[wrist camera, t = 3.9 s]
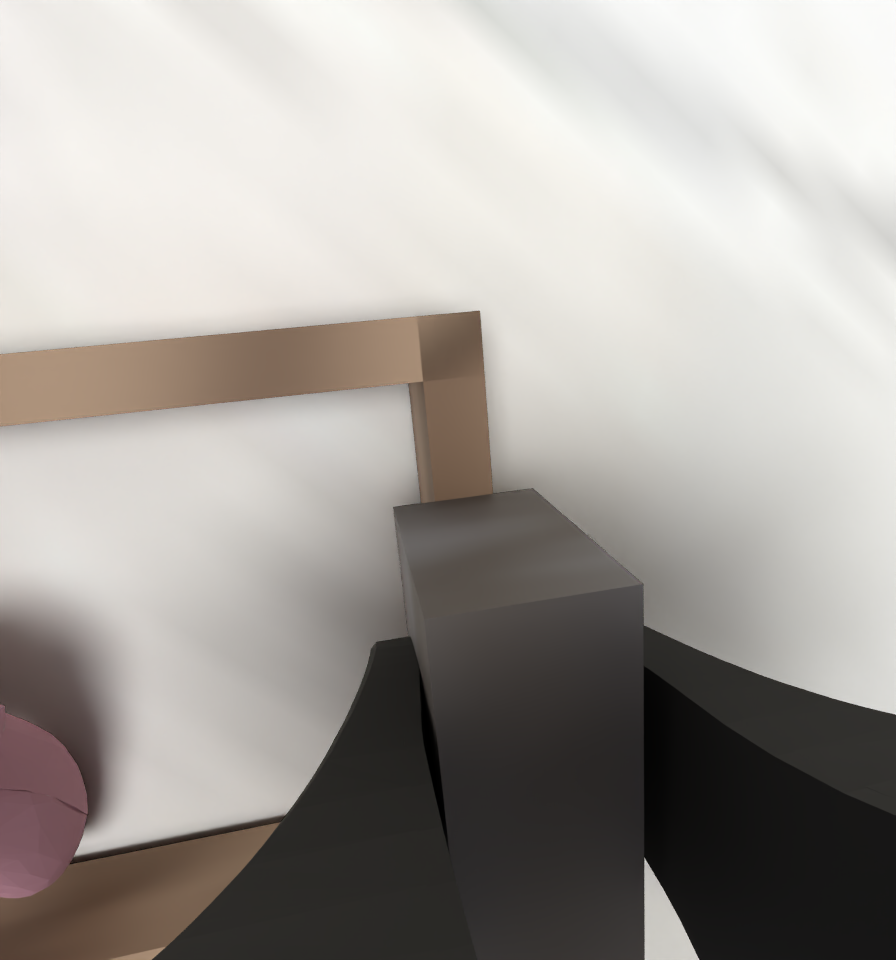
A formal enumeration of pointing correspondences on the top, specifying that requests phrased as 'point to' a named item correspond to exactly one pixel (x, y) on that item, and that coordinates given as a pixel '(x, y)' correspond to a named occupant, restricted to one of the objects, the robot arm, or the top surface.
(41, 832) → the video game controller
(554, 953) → the sliding frame
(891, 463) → the top surface
